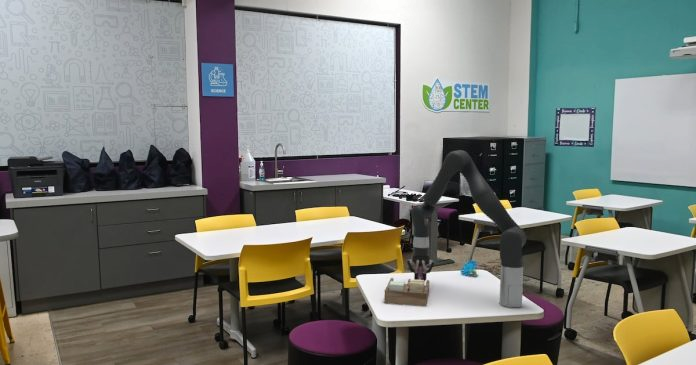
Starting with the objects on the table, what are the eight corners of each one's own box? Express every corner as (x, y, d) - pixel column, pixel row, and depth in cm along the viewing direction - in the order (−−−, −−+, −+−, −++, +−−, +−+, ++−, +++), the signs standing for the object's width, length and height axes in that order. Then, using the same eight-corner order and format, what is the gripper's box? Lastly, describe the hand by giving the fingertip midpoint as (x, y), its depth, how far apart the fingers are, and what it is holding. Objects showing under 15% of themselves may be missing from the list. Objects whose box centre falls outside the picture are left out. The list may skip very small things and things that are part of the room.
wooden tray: (390, 289, 256) (390, 277, 255) (429, 291, 252) (429, 280, 252) (384, 303, 234) (384, 290, 234) (426, 306, 231) (426, 293, 230)
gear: (456, 269, 288) (470, 256, 289) (463, 276, 290) (476, 263, 291) (466, 277, 278) (480, 264, 278) (473, 284, 280) (486, 271, 280)
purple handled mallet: (414, 282, 264) (414, 264, 263) (426, 283, 263) (427, 265, 262) (409, 298, 238) (409, 278, 237) (422, 299, 236) (423, 279, 236)
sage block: (390, 291, 241) (391, 280, 241) (404, 292, 240) (404, 281, 239) (389, 295, 235) (389, 284, 235) (402, 296, 234) (403, 285, 233)
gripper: (405, 246, 258) (405, 281, 259) (435, 247, 255) (434, 283, 257) (407, 243, 265) (406, 278, 267) (436, 244, 262) (435, 279, 264)
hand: (420, 280), depth 262 cm, fingers closed on purple handled mallet, 3 cm apart
